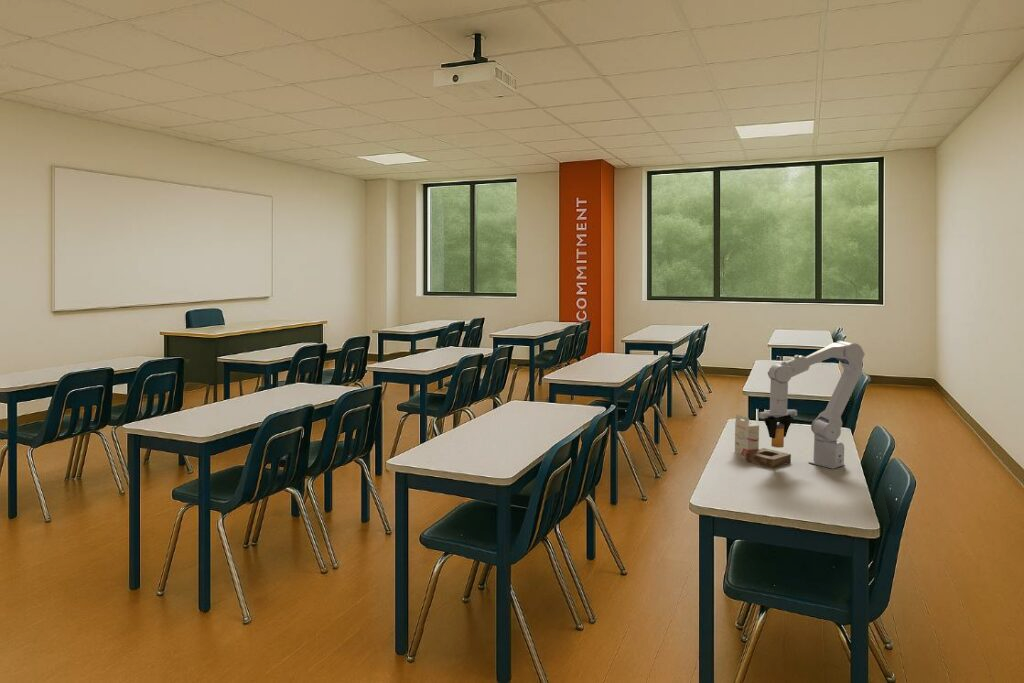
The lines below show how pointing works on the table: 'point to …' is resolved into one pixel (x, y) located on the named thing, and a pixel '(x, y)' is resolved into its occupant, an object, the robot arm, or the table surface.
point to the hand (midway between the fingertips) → (777, 437)
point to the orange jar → (778, 436)
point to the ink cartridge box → (746, 436)
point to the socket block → (768, 457)
